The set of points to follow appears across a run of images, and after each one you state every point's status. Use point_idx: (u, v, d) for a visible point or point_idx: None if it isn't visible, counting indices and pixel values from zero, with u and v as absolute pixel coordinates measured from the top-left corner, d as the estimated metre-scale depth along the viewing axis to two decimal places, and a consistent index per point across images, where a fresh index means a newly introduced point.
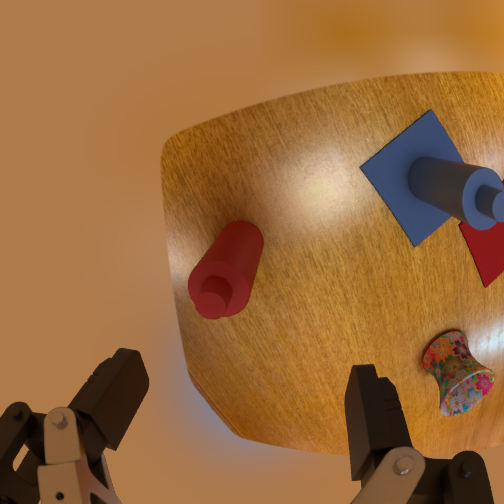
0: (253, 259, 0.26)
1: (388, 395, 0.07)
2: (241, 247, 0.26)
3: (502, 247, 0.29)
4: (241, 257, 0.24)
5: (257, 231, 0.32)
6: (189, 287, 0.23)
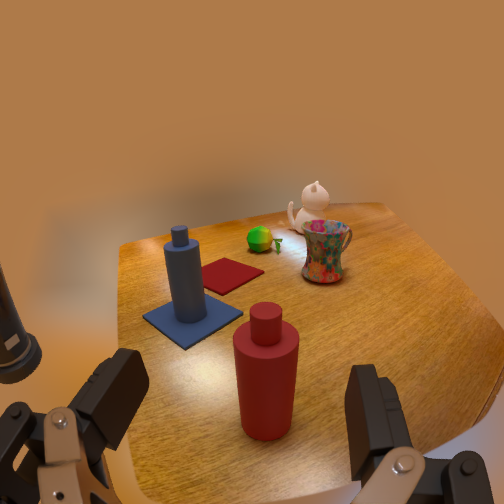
0: None
1: (388, 395, 0.07)
2: None
3: (232, 270, 0.60)
4: None
5: None
6: (270, 356, 0.20)
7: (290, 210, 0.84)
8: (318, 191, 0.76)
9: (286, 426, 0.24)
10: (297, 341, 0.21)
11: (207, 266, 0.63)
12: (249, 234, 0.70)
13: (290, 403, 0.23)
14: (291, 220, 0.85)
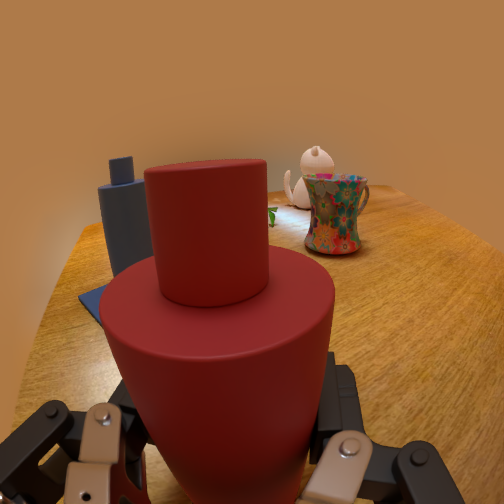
0: None
1: (346, 382, 0.08)
2: None
3: None
4: None
5: None
6: (211, 351, 0.04)
7: (286, 180, 0.68)
8: (320, 154, 0.61)
9: None
10: (330, 293, 0.06)
11: None
12: None
13: (298, 477, 0.07)
14: (288, 193, 0.69)
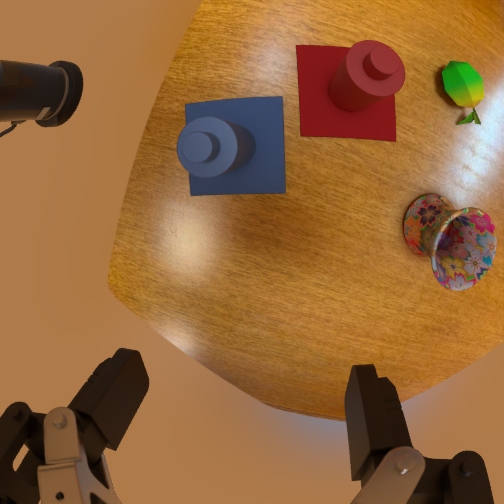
0: None
1: (388, 395, 0.07)
2: None
3: None
4: None
5: None
6: (380, 94, 0.19)
7: None
8: None
9: None
10: (403, 80, 0.18)
11: (346, 52, 0.27)
12: (453, 69, 0.22)
13: None
14: None
